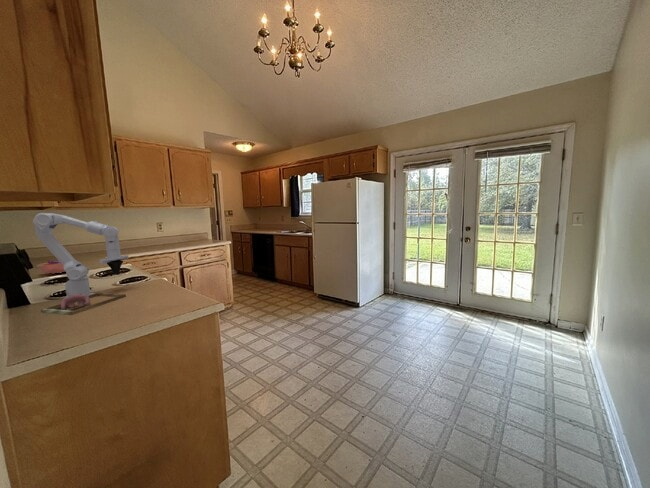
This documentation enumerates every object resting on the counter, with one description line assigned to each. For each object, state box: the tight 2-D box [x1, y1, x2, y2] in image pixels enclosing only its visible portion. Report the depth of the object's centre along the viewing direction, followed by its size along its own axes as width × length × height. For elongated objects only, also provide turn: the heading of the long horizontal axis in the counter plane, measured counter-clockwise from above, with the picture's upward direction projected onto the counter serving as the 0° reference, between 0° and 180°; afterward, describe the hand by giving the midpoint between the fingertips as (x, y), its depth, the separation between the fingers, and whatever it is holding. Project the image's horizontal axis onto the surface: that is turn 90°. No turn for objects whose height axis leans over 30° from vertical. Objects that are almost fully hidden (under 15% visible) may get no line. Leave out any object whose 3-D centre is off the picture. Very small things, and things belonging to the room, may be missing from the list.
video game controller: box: [60, 294, 91, 310], centre depth 124 cm, size 10×5×7 cm, turn 128°
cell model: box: [36, 260, 65, 275], centre depth 197 cm, size 17×20×11 cm
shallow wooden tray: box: [40, 292, 127, 316], centre depth 128 cm, size 18×24×1 cm
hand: (116, 274), depth 147 cm, fingers closed
